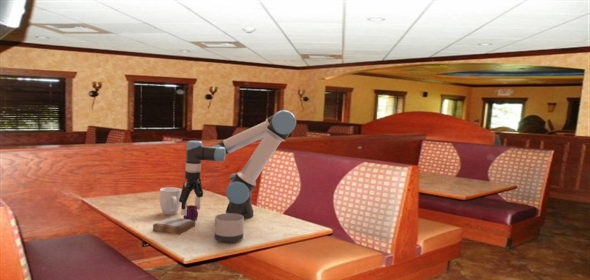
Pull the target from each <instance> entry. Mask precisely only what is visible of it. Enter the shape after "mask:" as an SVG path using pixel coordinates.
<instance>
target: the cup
mask: <svg viewBox="0 0 590 280" xmlns="http://www.w3.org/2000/svg"><path fill="white" fill-rule="evenodd" d="M198 211H199V210H198V209H197V206H195V204H194V205H193V204H189V205H188V204H187V215H186V216H185V215H183V219H189V220H193V221H195V222H196V221H197V220H198V217H199V212H198Z"/></svg>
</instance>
